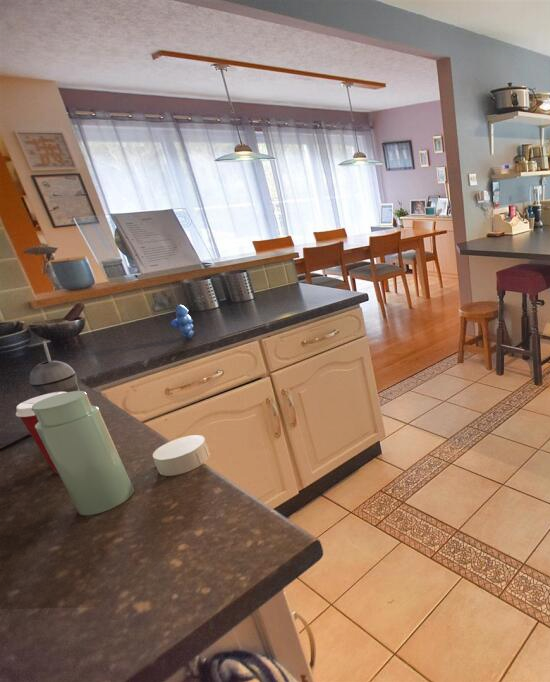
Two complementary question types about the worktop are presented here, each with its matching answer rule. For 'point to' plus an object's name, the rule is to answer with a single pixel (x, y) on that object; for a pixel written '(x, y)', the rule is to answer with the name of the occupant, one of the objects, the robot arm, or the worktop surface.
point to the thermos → (82, 452)
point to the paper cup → (34, 422)
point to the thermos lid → (181, 455)
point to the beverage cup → (53, 376)
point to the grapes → (183, 322)
